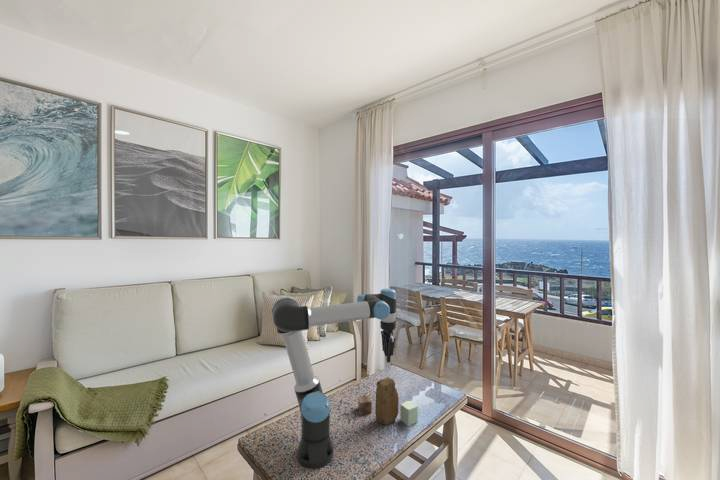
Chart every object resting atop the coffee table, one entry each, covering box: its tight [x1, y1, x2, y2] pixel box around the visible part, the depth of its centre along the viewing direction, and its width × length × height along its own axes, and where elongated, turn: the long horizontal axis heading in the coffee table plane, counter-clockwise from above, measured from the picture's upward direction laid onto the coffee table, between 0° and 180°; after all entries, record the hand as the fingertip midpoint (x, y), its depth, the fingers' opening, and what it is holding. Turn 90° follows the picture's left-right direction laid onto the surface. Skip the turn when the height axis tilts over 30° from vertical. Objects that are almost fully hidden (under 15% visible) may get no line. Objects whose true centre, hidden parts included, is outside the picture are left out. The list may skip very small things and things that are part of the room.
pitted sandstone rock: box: [374, 377, 400, 425], centre depth 151 cm, size 11×8×20 cm
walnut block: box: [357, 395, 373, 415], centre depth 159 cm, size 6×6×6 cm
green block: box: [399, 400, 419, 427], centre depth 150 cm, size 6×6×8 cm
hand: (387, 367), depth 150 cm, fingers closed
